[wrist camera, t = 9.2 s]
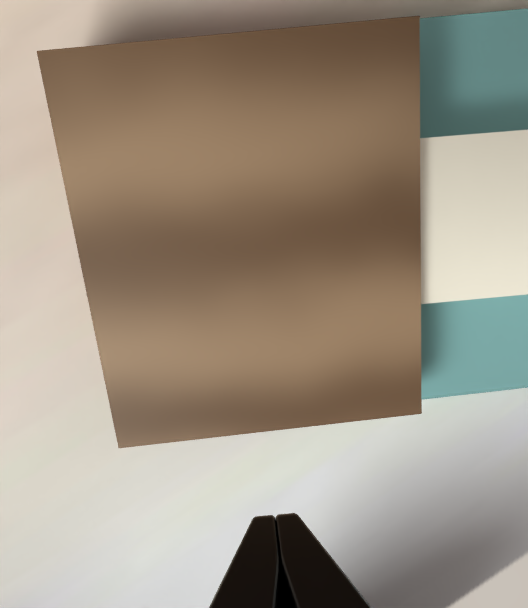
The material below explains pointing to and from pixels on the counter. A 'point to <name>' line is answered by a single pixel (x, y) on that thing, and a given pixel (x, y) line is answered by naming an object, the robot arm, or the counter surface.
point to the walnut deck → (247, 224)
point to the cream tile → (474, 216)
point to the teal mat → (461, 121)
